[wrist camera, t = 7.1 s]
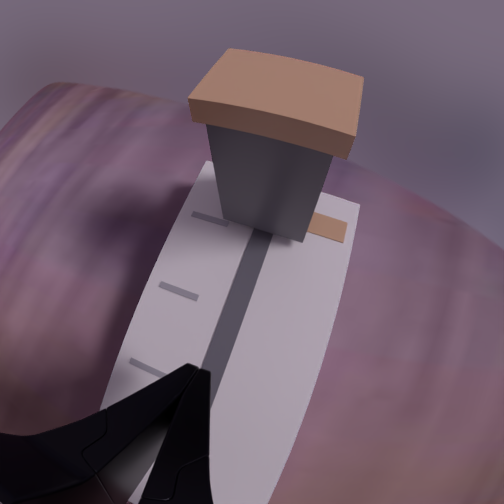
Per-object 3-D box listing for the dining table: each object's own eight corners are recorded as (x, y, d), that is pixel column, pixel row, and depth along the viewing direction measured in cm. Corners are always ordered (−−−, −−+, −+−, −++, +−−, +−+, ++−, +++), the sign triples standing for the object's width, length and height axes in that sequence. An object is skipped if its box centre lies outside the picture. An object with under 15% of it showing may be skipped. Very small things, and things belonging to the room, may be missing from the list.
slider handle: (310, 247, 14) (355, 136, 7) (215, 218, 15) (187, 98, 8) (324, 193, 15) (363, 77, 8) (237, 169, 16) (228, 48, 9)
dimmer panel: (247, 522, 11) (246, 544, 9) (102, 463, 12) (81, 474, 10) (347, 225, 18) (360, 204, 15) (211, 184, 19) (206, 159, 16)
